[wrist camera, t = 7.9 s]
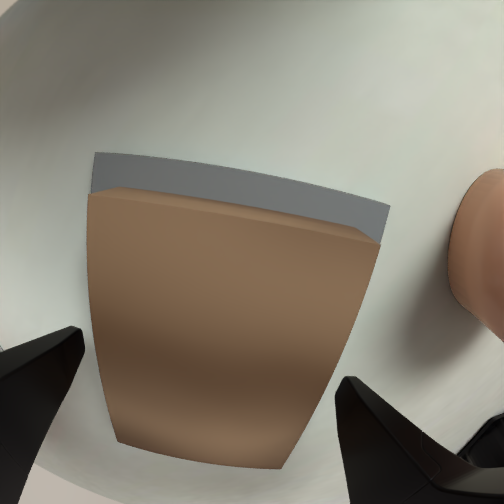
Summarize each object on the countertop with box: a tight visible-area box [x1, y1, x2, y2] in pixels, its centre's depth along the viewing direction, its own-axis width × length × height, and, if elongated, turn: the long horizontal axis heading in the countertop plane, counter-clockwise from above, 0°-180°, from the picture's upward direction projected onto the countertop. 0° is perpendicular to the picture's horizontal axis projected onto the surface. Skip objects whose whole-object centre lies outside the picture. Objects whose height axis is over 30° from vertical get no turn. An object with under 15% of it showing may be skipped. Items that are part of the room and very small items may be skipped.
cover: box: [87, 187, 381, 469], centre depth 8 cm, size 10×7×2 cm
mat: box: [91, 152, 390, 244], centre depth 9 cm, size 12×9×1 cm
